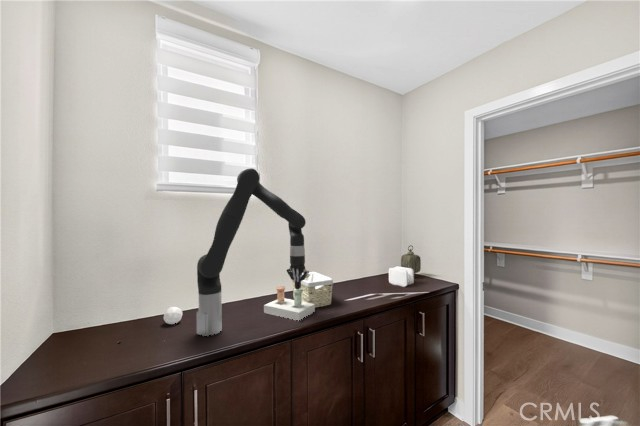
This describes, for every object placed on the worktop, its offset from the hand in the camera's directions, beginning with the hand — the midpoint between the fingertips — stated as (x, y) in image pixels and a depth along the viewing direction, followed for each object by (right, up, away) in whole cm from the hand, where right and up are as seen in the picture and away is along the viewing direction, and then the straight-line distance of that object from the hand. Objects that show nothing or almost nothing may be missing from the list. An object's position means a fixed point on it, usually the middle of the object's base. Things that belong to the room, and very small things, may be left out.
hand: (297, 288), depth 135 cm
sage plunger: (0, -8, 0) cm, 8 cm away
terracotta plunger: (-9, -8, +6) cm, 14 cm away
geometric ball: (-58, -14, -10) cm, 60 cm away
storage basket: (+6, -13, +19) cm, 24 cm away
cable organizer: (+68, -13, +55) cm, 88 cm away
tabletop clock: (+83, -12, +74) cm, 112 cm away
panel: (-5, -13, +3) cm, 14 cm away
